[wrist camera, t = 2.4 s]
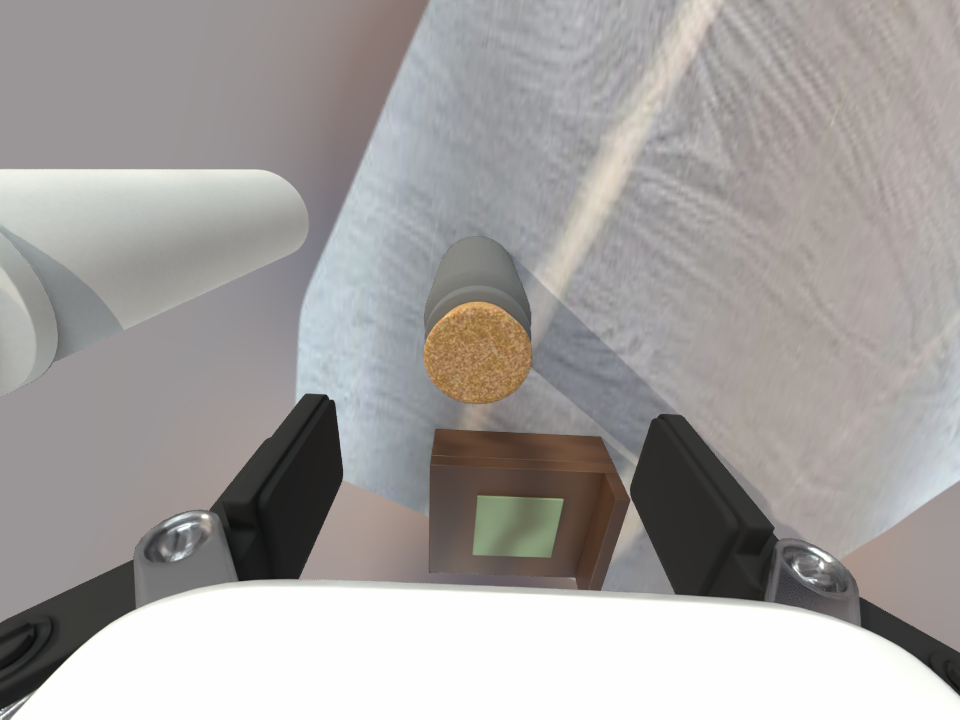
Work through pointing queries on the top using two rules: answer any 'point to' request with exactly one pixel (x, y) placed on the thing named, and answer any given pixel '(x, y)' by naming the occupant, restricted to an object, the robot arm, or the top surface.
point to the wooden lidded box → (524, 505)
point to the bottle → (477, 324)
